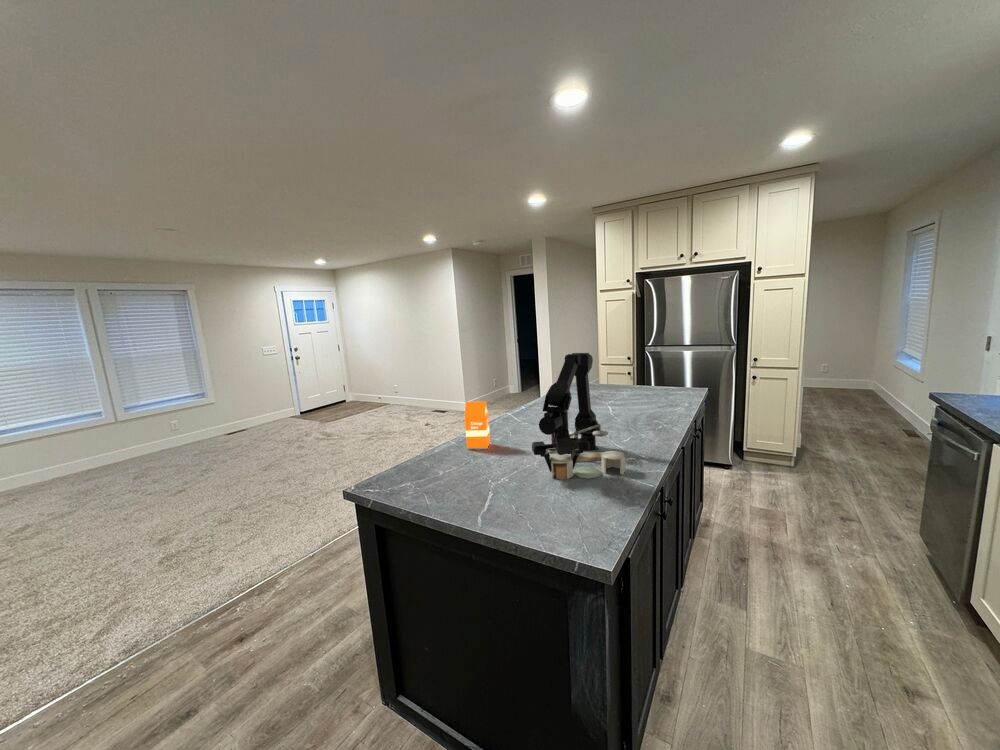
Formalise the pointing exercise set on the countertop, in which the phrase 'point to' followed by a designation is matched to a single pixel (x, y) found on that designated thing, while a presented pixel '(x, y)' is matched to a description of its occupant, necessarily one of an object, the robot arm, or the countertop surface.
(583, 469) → the dish
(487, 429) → the orange juice
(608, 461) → the cover
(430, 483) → the countertop surface
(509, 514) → the countertop surface
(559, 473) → the block
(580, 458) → the balance
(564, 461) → the cover
